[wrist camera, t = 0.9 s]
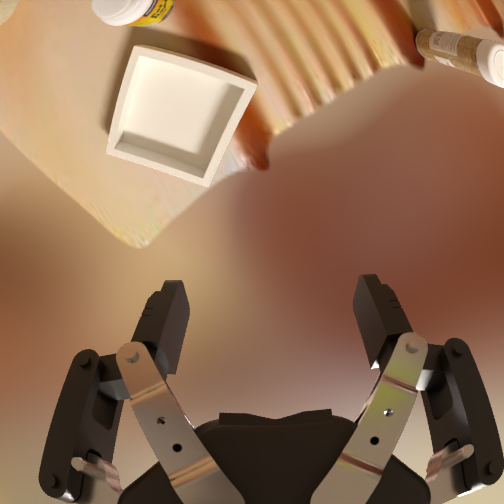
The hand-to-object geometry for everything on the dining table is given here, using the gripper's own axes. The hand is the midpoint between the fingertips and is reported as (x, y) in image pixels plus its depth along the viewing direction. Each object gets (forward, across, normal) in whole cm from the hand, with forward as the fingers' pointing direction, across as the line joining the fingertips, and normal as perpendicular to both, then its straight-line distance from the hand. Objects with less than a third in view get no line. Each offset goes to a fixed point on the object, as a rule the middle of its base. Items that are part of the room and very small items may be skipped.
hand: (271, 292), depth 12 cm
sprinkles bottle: (+22, -21, -17) cm, 35 cm away
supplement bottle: (+21, +11, -21) cm, 32 cm away
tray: (+23, +10, -7) cm, 26 cm away
